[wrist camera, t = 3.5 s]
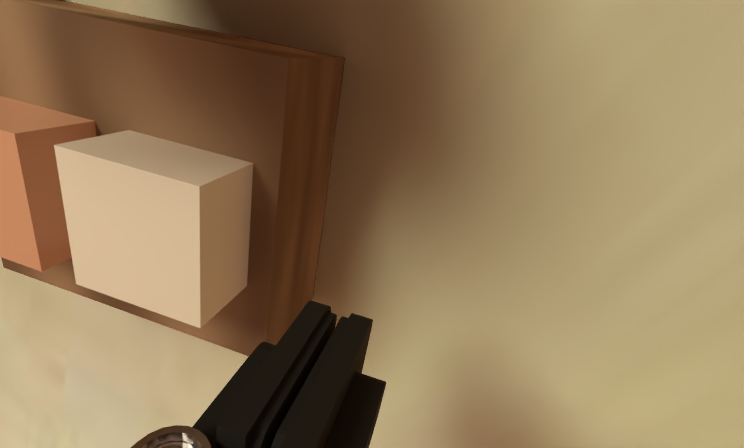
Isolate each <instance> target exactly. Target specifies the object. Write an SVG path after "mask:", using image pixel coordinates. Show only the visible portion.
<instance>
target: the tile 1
mask: <svg viewBox="0 0 744 448" xmlns="http://www.w3.org/2000/svg"><path fill="white" fill-rule="evenodd" d="M92 137H97V136H96V128H95V121H93V120H89V119H86V118H82V117H78V116H74V115H70V114H67V113H63V112H59V111H55V110H52V109H48V108H44V107H40V106H37V105H33V104H29V103H25V102H22V101H18V100H14V99H10V98H7V97H3V96H0V257H2V258H5V259H7V260H10V261H13V262H16V263H19V264H21V265H24V266H27V267H30V268H33V269H35V270H38V271H41V272H42V271H44V270H47V269H49V268H51V267H53V266H55V265H57V264H59V263H61V262H64V261H66V260H68V259H70V258H72V255H71V249H70V243H69V236H68V230H67V224H66V218H65V211H64V205H63V199H62V193H61V186H60V180H59V174H58V167H57V161H56V155H55V149H54V145H56V144H61V143H66V142H71V141H76V140H81V139H87V138H92Z"/></svg>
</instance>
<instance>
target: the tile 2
mask: <svg viewBox="0 0 744 448" xmlns="http://www.w3.org/2000/svg"><path fill="white" fill-rule="evenodd" d="M54 149H55V155H56V161H57V167H58V174H59V180H60V186H61V193H62V199H63V205H64V211H65V218H66V224H67V230H68V236H69V243H70V249H71V255H72V262H73V268H74V274H75V280H76V284H77V285H80V286H83V287H86V288H89V289H91V290H94V291H97V292H100V293H103V294H105V295H108V296H111V297H114V298H117V299H119V300H122V301H125V302H128V303H131V304H133V305H136V306H139V307H142V308H145V309H147V310H150V311H153V312H156V313H159V314H161V315H164V316H167V317H170V318H173V319H175V320H178V321H181V322H184V323H187V324H189V325H192V326H195V327H198V328H202V327H203V326H204V325H205V324H206V323H207V322H208V321H209V320H210V319H211V318H212V317H214V316H215V315H216V314H217V313H218V312H219V311H220V310H221V309H222V308H223V307H224V306H226V305H227V304H228V303H229V302H230V301H231V300H232V299H233V298H234V297H235V296H236V295H238V294H239V293H240V292H241V291H242V290H243V289H244V288H245V287H246V286H247V276H248V257H249V237H250V217H251V197H252V178H253V163H251V162H247V161H244V160H240V159H236V158H232V157H229V156H225V155H221V154H217V153H213V152H210V151H206V150H202V149H198V148H195V147H191V146H187V145H183V144H180V143H176V142H172V141H168V140H165V139H161V138H157V137H153V136H150V135H146V134H142V133H138V132H134V131H131V130H127V131H122V132H117V133H112V134H107V135H102V136H97V137H92V138H87V139H81V140H76V141H71V142H66V143H61V144H56V145H54Z"/></svg>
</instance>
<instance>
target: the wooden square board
mask: <svg viewBox="0 0 744 448" xmlns="http://www.w3.org/2000/svg"><path fill="white" fill-rule="evenodd" d="M344 60H345V58H341V57H336V56H331V55H326V54H321V53H316V52H311V51H306V50H302V49H297V48H292V47H287V46H282V45H277V44H272V43H267V42H262V41H257V40H253V39H248V38H243V37H238V36H233V35H228V34H223V33H218V32H213V31H209V30H204V29H199V28H194V27H189V26H184V25H179V24H174V23H169V22H165V21H160V20H155V19H150V18H145V17H140V16H135V15H130V14H125V13H121V12H116V11H111V10H106V9H101V8H96V7H91V6H86V5H81V4H76V3H72V2H67V1H60V0H0V96H3V97H7V98H10V99H14V100H18V101H22V102H25V103H29V104H33V105H37V106H40V107H44V108H48V109H52V110H55V111H59V112H63V113H67V114H70V115H74V116H78V117H82V118H86V119H89V120H93V121H95V128H96V136H102V135H107V134H112V133H117V132H122V131H127V130H131V131H134V132H138V133H142V134H146V135H150V136H153V137H157V138H161V139H165V140H168V141H172V142H176V143H180V144H183V145H187V146H191V147H195V148H198V149H202V150H206V151H210V152H213V153H217V154H221V155H225V156H229V157H232V158H236V159H240V160H244V161H247V162H251V163H253V178H252V197H251V217H250V237H249V257H248V276H247V286H246V287H245V288H244V289H243V290H242V291H241V292H240V293H239V294H238V295H236V296H235V297H234V298H233V299H232V300H231V301H230V302H229V303H228V304H227V305H226V306H224V307H223V308H222V309H221V310H220V311H219V312H218V313H217V314H216V315H215V316H214V317H212V318H211V319H210V320H209V321H208V322H207V323H206V324H205V325H204V326H203V327H202V328H198V327H195V326H192V325H189V324H187V323H184V322H181V321H178V320H175V319H173V318H170V317H167V316H164V315H161V314H159V313H156V312H153V311H150V310H147V309H145V308H142V307H139V306H136V305H133V304H131V303H128V302H125V301H122V300H119V299H117V298H114V297H111V296H108V295H105V294H103V293H100V292H97V291H94V290H91V289H89V288H86V287H83V286H80V285H77V284H76V280H75V274H74V268H73V262H72V258H70V259H68V260H66V261H64V262H61V263H59V264H57V265H55V266H53V267H51V268H49V269H47V270H44V271H42V272H41V271H38V270H35V269H33V268H30V267H27V266H24V265H21V264H19V263H16V262H13V261H10V260H7V259H5V258H2V257H1V258H2V262H3V266H4V268H7V269H10V270H13V271H15V272H18V273H21V274H24V275H26V276H29V277H32V278H35V279H37V280H40V281H43V282H46V283H48V284H51V285H54V286H57V287H59V288H62V289H65V290H68V291H71V292H73V293H76V294H79V295H82V296H84V297H87V298H90V299H93V300H95V301H98V302H101V303H104V304H106V305H109V306H112V307H115V308H117V309H120V310H123V311H126V312H128V313H131V314H134V315H137V316H139V317H142V318H145V319H148V320H151V321H153V322H156V323H159V324H162V325H164V326H167V327H170V328H173V329H175V330H178V331H181V332H184V333H186V334H189V335H192V336H195V337H197V338H200V339H203V340H206V341H208V342H211V343H214V344H217V345H219V346H222V347H225V348H228V349H231V350H233V351H236V352H239V353H242V354H244V355H247V356H250V355H251V353H252V352H253V351H254V350H255V348H256V347H257V346H258V345H259V344H260V343H262V342H264V341H265V342H268V343H271V344H274V345H276V344H277V343H278V342H279V340H280V339H281V338H282V336H283V335H284V334H285V332H286V331H287V329H288V328H289V327H290V325H291V324H292V323H293V321H294V320H295V319H296V317H297V316H298V315H299V313H300V312H301V311H302V309H303V308H304V306H305V305H306V304H307V303H308V301H310V300H312V299H313V292H314V284H315V277H316V270H317V262H318V255H319V247H320V240H321V232H322V225H323V217H324V210H325V202H326V195H327V187H328V180H329V172H330V165H331V157H332V150H333V142H334V135H335V127H336V120H337V112H338V105H339V97H340V90H341V82H342V75H343V67H344Z"/></svg>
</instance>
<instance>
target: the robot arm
mask: <svg viewBox="0 0 744 448" xmlns="http://www.w3.org/2000/svg"><path fill="white" fill-rule="evenodd" d="M336 318H337V315H336V314H333V313H331V307H330V306H327V305H324V304H321V303H317V302H314V301H311V300H310V301H308V303H307V304H306V305H305V306H304V308H303V309H302V311H301V312H300V313H299V315H298V316H297V317H296V319H295V320H294V321H293V323H292V324H291V325H290V327H289V328H288V329H287V331H286V332H285V334H284V335H283V336H282V338H281V339H280V340H279V342H278V343H277V344H276V345H274V344H271V343H268V342H265V341H264V342H262V343H260V344H259V345H258V346H257V347H256V348H255V350H254V351H253V352H252V353H251V355H250V356H249V357H248V358H247V360H246V361H245V362H244V363H243V365H242V366H241V367H240V368H239V370H238V371H237V372H236V373H235V375H234V376H233V377H232V378H231V380H230V381H229V382H228V383H227V385H226V386H225V387H224V388H223V390H222V391H221V392H220V393H219V395H218V396H217V397H216V398H215V400H214V401H213V402H212V403H211V405H210V406H209V407H208V408H207V410H206V411H205V412H204V413H203V415H202V416H201V417H200V418H199V420H198V421H197V422H196V423H195V424H194V426H193V427H189V426H177V425H176V426H170V427H165V428H161V429H159V430H157V431H154V432H152V433H150V434H148V435H147V436H145V437H144V438H142V439H141V440H140V441H138V442H137V443H136V444H135V445H133V446H132V447H131V448H369V445H370V441H371V438H372V434H373V431H374V427H375V424H376V420H377V417H378V413H379V409H380V406H381V402H382V398H383V394H384V390H385V386H386V382H385V381H382V380H379V379H376V378H373V377H370V376H367V375H364V374H361V373H362V369H363V364H364V360H365V355H366V350H367V346H368V341H369V337H370V332H371V327H372V322H373V320H372V319H369V318H366V317H363V316H359V315H356V314H353V313H352V314H351V315H350V317H349V318H346V317H343V316H342V317H341V319H340V321H339V322H338V324H337V326H336V328H335V325H336Z"/></svg>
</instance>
